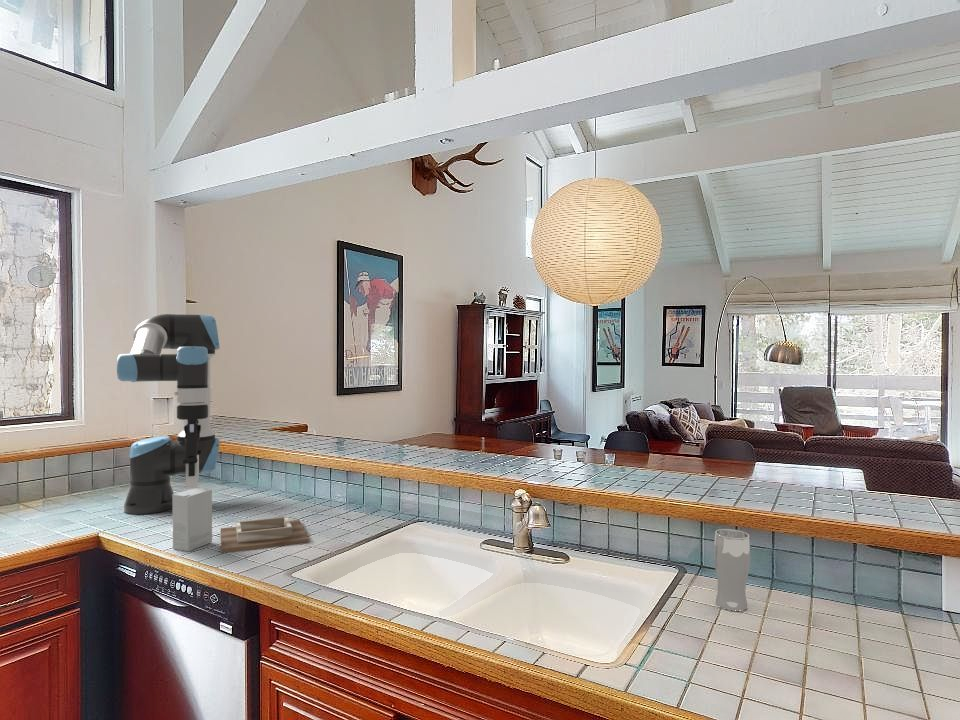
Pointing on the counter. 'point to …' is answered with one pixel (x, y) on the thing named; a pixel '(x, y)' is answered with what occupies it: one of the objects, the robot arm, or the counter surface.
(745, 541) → the beer glass
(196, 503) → the skincare box
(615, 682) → the counter surface
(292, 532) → the holder board
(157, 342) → the robot arm
